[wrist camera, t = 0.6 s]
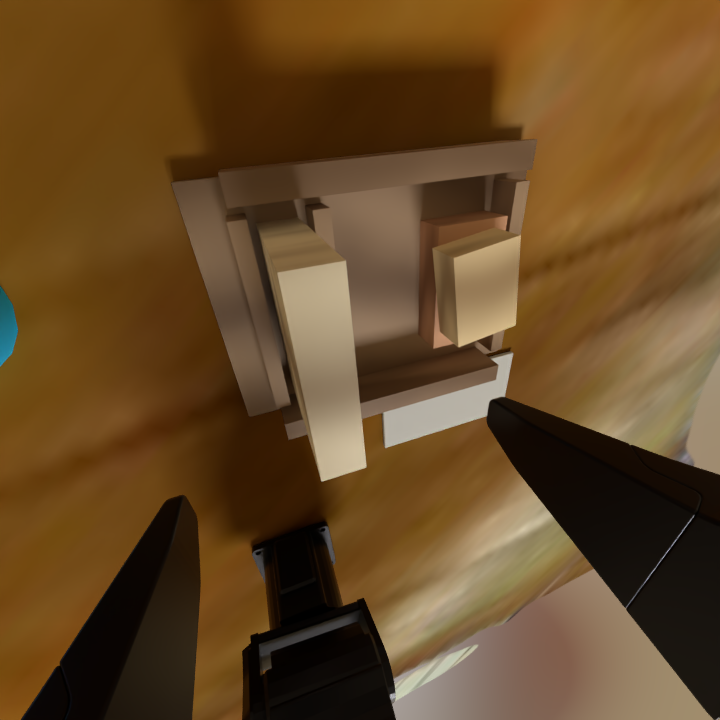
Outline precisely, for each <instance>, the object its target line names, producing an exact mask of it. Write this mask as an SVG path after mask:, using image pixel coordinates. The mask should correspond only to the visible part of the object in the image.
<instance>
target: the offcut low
mask: <svg viewBox="0 0 720 720" xmlns="http://www.w3.org/2000/svg"><path fill="white" fill-rule="evenodd" d="M507 218H508V216H507V215H502V214H498V213H494V212H489V211H485V210H483V211H477V212H471V213H464V214H458V215H451V216H445V217H438V218H432V219H426V220H420V268H419V324H418V335H419V336H421V337H422V338H423V339H424V340H425V341H426V342H427V343H428V344H429V345H430V346H431V347H432V348H433V349H434V348H438V347H442V346H446V345H450V344H454V343H453V342H451V341H450V340H449V339H448V338H447V337H445V336H444V335H443V334H442V333H441V332H440V329H439V317H438V306H437V295H436V284H435V272H434V261H433V250H432V248H434V247H437V246H440V245H443V244H446V243H449V242H452V241H455V240H458V239H461V238H464V237H467V236H470V235H473V234H476V233H479V232H482V231H485V230H488V229H491V228H498V229H501V230H505V231H506V225H507Z"/></svg>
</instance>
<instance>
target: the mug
mask: <svg viewBox="0 0 720 720" xmlns="http://www.w3.org/2000/svg"><path fill="white" fill-rule="evenodd" d="M17 333H18V328H17V323H16V319H15V314H14V309H13V305H12V303H11V302H10V300H9V298H8V297H7V295H6V294H5V292H4V291H3V289H2V288H1V286H0V366H1V365H2V364H3V363H4V362H5V361H6V359H7V358H8V357H9V356H10V355H11V354H12V352H13V348H14V344H15V340H16V337H17Z"/></svg>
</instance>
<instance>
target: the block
mask: <svg viewBox="0 0 720 720" xmlns="http://www.w3.org/2000/svg"><path fill="white" fill-rule="evenodd" d="M256 226H257V230H258V235H259V239H260V243H261V248H262V252H263V257H264V261H265V265H266V270H267V274H268V279H269V283H270V287H271V292H272V296H273V300H274V305H275V309H276V314H277V318H278V322H279V327H280V331H281V336H282V340H283V344H284V349H285V353H286V357H287V362H288V366H289V371H290V375H291V379H292V383H293V386H294V390H295V393H296V396H297V400H298V403H299V407H300V410H301V413H302V417H303V420H304V424H305V427H306V430H307V434H308V437H309V441H310V444H311V448H312V451H313V454H314V458H315V461H316V465H317V468H318V471H319V475H320V478H321V482H323V481H326V480H329V479H332V478H335V477H338V476H341V475H344V474H347V473H350V472H353V471H356V470H360V469H363V468H366V458H365V448H364V438H363V428H362V418H361V408H360V397H359V387H358V377H357V367H356V357H355V347H354V337H353V327H352V316H351V306H350V296H349V286H348V276H347V266H346V260H345V259H344V258H343V257H341V256H340V255H339V254H338V253H337V252H336V251H335V250H334V249H333V248H332V247H330V246H329V245H328V244H327V243H326V242H325V241H324V240H323V239H322V238H320V237H319V236H318V235H317V234H316V233H315V232H314V231H313V230H312V229H311V228H309V227H308V226H307V225H306V224H305V223H304V222H303V221H302V220H301V219H299V218H298V217H297V218H290V219H283V220H276V221H269V222H262V223H256Z"/></svg>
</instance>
